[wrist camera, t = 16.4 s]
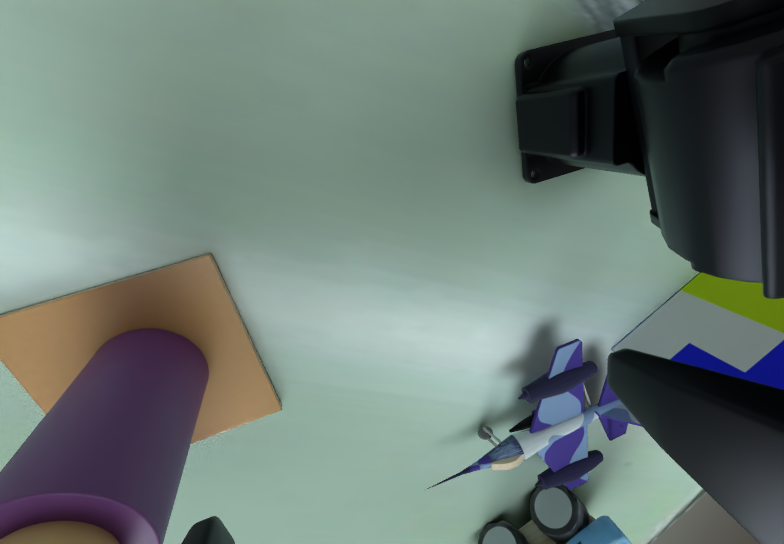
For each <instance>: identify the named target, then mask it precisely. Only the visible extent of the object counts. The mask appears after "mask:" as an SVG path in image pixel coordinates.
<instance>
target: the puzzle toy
mask: <svg viewBox="0 0 784 544" xmlns="http://www.w3.org/2000/svg"><path fill="white" fill-rule="evenodd" d="M624 348H628V349H632V350H636V351H640V352H644V353H647V354H651V355H655V356H659V357H662V358H666V359H670V360H674V361H678V362H681V363H685V364H689V365H693V366H696V367H700V368H704V369H708V370H711V371H715V372H719V373H723V374H726V375H730V376H734V377H738V378H742V379H745V380H749V381H753V382H757V383H760V384H764V385H768V386H772V387H775V388H779V389H783V390H784V298H779V299H769V298H766V297H764V296H763V286H762V283H755V282H744V281H737V280H730V279H724V278H719V277H715V276H712V275H708V274H705V273H702V272H701V273H700V274H698V275H697V276H696V277H695V278H694V279H693V280H691V281H690V282H689V283H688V284H687V285H686V286H684V287H683V288H682V289H681V290H680V291H679V292H677V293H676V294H675V295H674V296H673V297H672V298H671V299H669V300H668V301H667V302H666V303H665V304H664V305H662V306H661V307H660V308H659V309H658V310H657V311H655V312H654V313H653V314H652V315H651V316H650V317H648V318H647V319H646V320H645V321H644V322H643V323H641V324H640V325H639V326H638V327H637V328H636V329H634V330H633V331H632V332H631V333H630V334H629V335H627V336H626V337H625V338H624V339H623V340H622V341H621V342H619V343H618V344H617V345H616V346H615V347H614V348H612V350H613V352H616V351H618V350H620V349H624Z"/></svg>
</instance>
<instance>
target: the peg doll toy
mask: <svg viewBox="0 0 784 544" xmlns="http://www.w3.org/2000/svg"><path fill="white" fill-rule="evenodd" d="M208 378H209V368H208V364H207V361H206V359H205V357H204V355H203V353H202V352H201V351H200V349H199V348H198V347H197V346H196V345H195V344H193V343H192V342H191V341H189V340H188V339H186V338H185V337H183V336H181V335H178V334H176V333H173V332H169V331H166V330H159V329H139V330H133V331H129V332H125V333H122V334H120V335H117V336H115V337H113V338H112V339H110V340H109V341H107V342H106V343H104V344H103V345H102V346H101V347H100V348H99V349H98V351H97V352H96V353H95V354H94V356H93V357H92V358H91V359H90V361H89V362H88V363H87V364H86V366H85V367H84V368H83V369H82V371H81V372H80V373H79V374H78V376H77V377H76V378H75V379H74V381H73V382H72V383H71V384H70V386H69V387H68V388H67V389H66V391H65V392H64V393H63V394H62V396H61V397H60V398H59V399H58V401H57V402H56V403H55V404H54V406H53V407H52V408H51V409H50V411H49V412H48V413H47V414H46V416H45V417H44V418H43V419H42V421H41V422H40V423H39V424H38V426H37V427H36V428H35V429H34V431H33V432H32V433H31V434H30V436H29V437H28V438H27V439H26V441H25V442H24V443H23V444H22V446H21V447H20V448H19V449H18V451H17V452H16V453H15V454H14V456H13V457H12V458H11V459H10V461H9V462H8V463H7V464H6V466H5V467H4V468H3V469H2V471H1V472H0V544H163V541H164V537H165V534H166V530H167V527H168V523H169V519H170V516H171V512H172V509H173V505H174V501H175V498H176V494H177V490H178V487H179V483H180V480H181V476H182V472H183V469H184V465H185V462H186V458H187V454H188V451H189V447H190V444H191V440H192V436H193V433H194V429H195V426H196V422H197V418H198V415H199V411H200V408H201V404H202V400H203V397H204V393H205V390H206V386H207V382H208Z"/></svg>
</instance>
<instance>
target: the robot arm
mask: <svg viewBox="0 0 784 544" xmlns="http://www.w3.org/2000/svg"><path fill="white" fill-rule="evenodd" d="M613 22H614V27H615V30H610V31H606V32H602V33H598V34H594V35H590V36H586V37H581V38H577V39H573V40H569V41H565V42H561V43H556V44H552V45H548V46H544V47H540V48H536V49H531V50H527V51H524V52H522V53H520V54H519V55H518V56H517V58H516V60H515V73H516V87H517V101H516V110H517V123H518V137H519V149H520V150H521V157H522V171H523V178H524V180H525V181H526V182H529V183H538V182H541V181H544V180H548V179H551V178H554V177H557V176H561V175H564V174H567V173H570V172H574V171H577V170H580V169H584V168H591V169H598V170H605V171H612V172H619V173H626V174H633V175H640V176H646V180H647V186H648V191H649V196H650V202H651V207H652V209H651V210H650V217H651V222H652V223H653V224H655V225H656V226H657V227H659V228H660V229H661V233H662V236H663V238H664V240H665V241H666V243H667V245H668V247H669V248H670V249H671V250H673V251H674V252H675V253H677V254H678V255H680V256H681V257H683V258H684V259H686V260H688V261H690V262H691V266H692V269H694V270H696V271H699V272H702V273H705V274H708V275H712V276H715V277H719V278H724V279H730V280H737V281H744V282H755V283H762V286H763V296H764V297H766V298H769V299H779V298H784V0H645V1H644V2H642V3H640V4H639V5H637V6H636V7H634V8H632V9H631V10H629V11H628V12H626V13H624V14H623V15H621V16H620V17H618V18H616V19H615V20H614V21H613ZM525 58H527V59H528V66H527V68H526V67H525V65H524V60H525ZM533 170H534V171H535V174H534V176H533V177H531V173H532V171H533ZM607 382H608V385H609V387H610V389H611V390H612V392H613V393H614V394H615V395H616V396H617V397H618V399H619V400H620V401H621V402H622V403H623V404H624V405H625V407H626V408H627V409H628V410H629V411H630V412H631V414H632V415H633V416H634V417H635V418H636V419H637V421H638V422H639V423H640V424H641V425H642V426H643V427H644V429H645V430H646V431H647V432H648V433H649V434H650V436H651V437H652V438H653V439H654V440H655V441H656V442H657V443H658V444H659V446H660V447H661V448H662V449H663V450H664V451H665V452H666V453H667V454H668V455H669V456H670V457H671V458H672V459H673V460H674V461H675V462H676V463H677V464H678V465H679V466H680V467H681V468H682V469H684V470H685V471H686V472H687V473H688V474H689V475H690V476H691V477H692V478H693V479H694V480H695V481H696V482H697V483H698V484H699V485H700V486H701V487H702V488H703V489H704V490H705V491H706V492H707V493H708V494H709V495H710V496H711V497H712V498H713V499H714V500H715V501H717V503H718V504H719V505H721V507H723V508H724V509H725V510H726V511H727V512H728V513H729V514H730V515H731V516H732V517H733V518H734V519H735V520H736V521H737V522H738V523H739V524H740V525H741V526H742V527H743V528H744V529H745V530H746V531H747V532H748V533H749V534H750V535H751V536H752V537H753V538H754V539H755V540H756V541H757V542H759V544H784V390H783V389H779V388H775V387H772V386H768V385H764V384H760V383H757V382H753V381H749V380H745V379H742V378H738V377H734V376H730V375H726V374H723V373H719V372H715V371H711V370H708V369H704V368H700V367H696V366H693V365H689V364H685V363H681V362H678V361H674V360H670V359H666V358H662V357H659V356H655V355H651V354H647V353H644V352H640V351H636V350H632V349H628V348H624V349H620V350H618V351H616V352H613V353H611V354H610V355H609V356H608V367H607ZM182 544H235V542H234V540H233V538H232V536H231V535H230V533H229V532H228V530H227V529H226V527H225V526H224V524H223V523H222V522H221V520H220V519H219V518H218V517H216V516H212V517H210V518H207V519H205V520H202V521H200V522H198V523H196V524H194V525H193V526H192V528H191V529H190V530H189V532H188V534H187V535H186V537H185V539H184V540H183V542H182Z"/></svg>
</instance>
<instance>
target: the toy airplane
mask: <svg viewBox="0 0 784 544" xmlns="http://www.w3.org/2000/svg"><path fill="white" fill-rule="evenodd" d="M597 370H598V367H597V365H596V364H595V363H594V362H592V361H587V362H583V357H582V342H581V341H580V340H579V339H575V340H573V341H571V342H568V343H566V344H564V345H561V346H559V347H557V348H556V350H555V353H554V356H553V359H552V362H551V365H550V368H549V371H548V373H546V374H545V375H543V376H541V377H540V378H538V379H537V380H535V381H533V382H532V383H530V384H528V385H527V386H525V387H523V388H522V392H523V394H522V395H521V396H520V397H519V398H518V399H526V400H527V401H528V402H529V403H532V402H535V401H538V400H539V402H538V405H537V409H536V410H533V411H532V415H530V416H529V417H527V418H525V419H524V420H522V421H521V422H519V423H518V424H517V425H515V426H514V427H513V428H511V429H510V430H509V432H515V431H519V430H524V429H527V428H530V430H527V431H523V432H520V433H516V434H513V435H510V436H509V437H508V438H506V439H505V440H504V441H503V442H501V441H500V440H499V439H498V438H497V437H495V436H494V435H493V431H492V429H491V428H490V427H488V426H482V427H480V428H479V430H478V435H479V437H480V438H481V439H484V440H488V441H490V442H491V443H492V444H493V445H494V446H495V448H493V449H492V450H491V451H490V452H488V453H487V454H486V455H484V456H483V457H482V458H480V459H479V460H478V461H477V462H475V463H474V464H472V465H470V466H469V467H467V468H466V469H464V470H463V471H461V472H460V473H458V474H456V475H454V476H452V477H450V478H448V479H446V480H444V481H442V482H440V483H438V484H441V483H443V482H445V481H448V480H450V479H453V478H455V477H457V476H460V475H462V474H466V473H470V472H473V471H477V470H480V469H485V468H490V467H492V470H508V469H513V468H515V467H517V466H518V465H519V464H520V463H521V462H522V461H524V460H526V459H527V458H529V457H530V456H532V455H533V454H535V453H536V452H537V454H538V455H539V456H540V457H541V458H542V459H543V460H544V461H545V463H546V464H547V465H548V466H549V467H550V468H548V469H547V470H545V471H544V472H543V473H541V474H539V475H538V482H537V483H536V484H535V486H542V487H543V488H544V489H545V490H547V489H549V488H552V487H556V486H559V485H562V484H565V485H566V486H567V488H568V489H569V490H571V489H573V488H575V487H577V486H580V485H582V484H584V483H586V482H587V481H588V480H589V475H588V472H589V471H591V470H592V469H593V468H595V467H596V466H597V465H598V464H599V463H600V462H602V461H603V454H602V453H601V452H600V451H598V450H593V451H588V442H587V424H588V423H590V422H592V421H594V420H596V419H598V418H599V419H600V421H601V423H602V426H603V428H604V430H605V432H606V434H607V436H608V438H609V440H610V441H611V440H613V439H615V438H617V437H619V436H621V435H623V434H625V433H626V429H627V425H628V423H630V424H634V425H638V426H642V425H641V424H640V423H639V422H638V421H637V419H636V418H635V417H634V416H633V415H632V414H631V412H630V411H629V410H628V409H627V408H626V407H625V405H624V404H623V403H622V402H621V401H620V400H619V399H618V397H617V396H616V395H615V394H614V393H613V392H612V390H611V389H610V387H609V385H608V382H607V376H606V379H605V383H604V386H603V389H602V392H601V396H600V399H599V402H598V404H596V405H593V406H592V405H591V402H590V399H589V397H588V394H587V391H586V388H585V385H584V381H586V380H587V379H588V378H590V377H591V376H592V375H594V374H595V373H596V372H597ZM584 393H585V396H586V399H587V401H588V404H589V407H588V408H585V409H584ZM642 427H643V426H642ZM491 437H493V438H494V439H495V440H496V441H498V442H499V443H500V444H499V445H497V444H496V443H494V442H493V441H492V440H491V439H490V438H491ZM438 484H436V485H438ZM436 485H434V486H436ZM432 487H433V486H432ZM430 488H431V487H430ZM428 489H429V488H428Z"/></svg>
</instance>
